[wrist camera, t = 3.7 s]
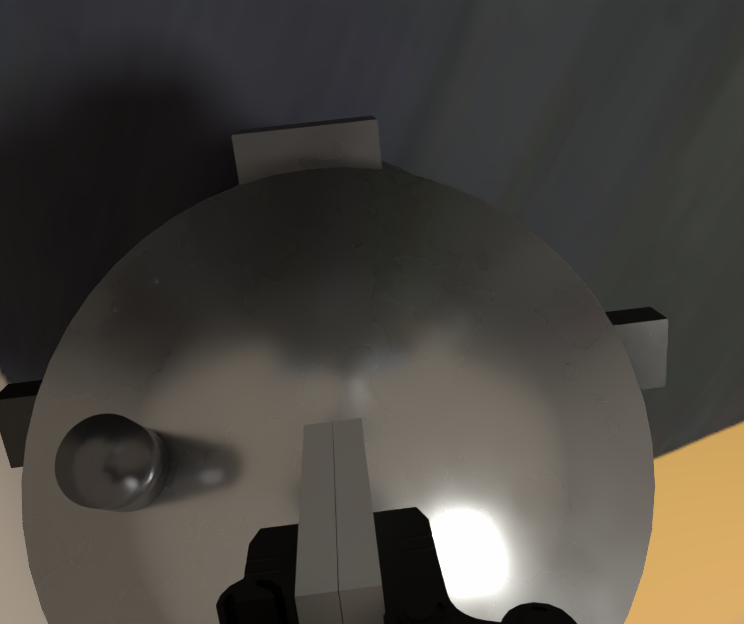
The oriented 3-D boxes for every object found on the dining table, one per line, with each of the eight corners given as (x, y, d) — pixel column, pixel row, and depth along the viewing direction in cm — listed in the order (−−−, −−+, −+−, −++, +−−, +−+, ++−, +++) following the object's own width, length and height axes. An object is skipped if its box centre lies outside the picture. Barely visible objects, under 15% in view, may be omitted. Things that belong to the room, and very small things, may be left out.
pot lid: (752, 904, 17) (833, 980, 14) (24, 1014, 17) (-55, 1120, 14) (567, 158, 24) (595, 102, 21) (49, 216, 23) (1, 167, 20)
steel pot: (39, 143, 34) (-102, 171, 23) (573, 85, 35) (693, 84, 24) (122, 474, 40) (43, 628, 29) (575, 417, 41) (673, 544, 30)
